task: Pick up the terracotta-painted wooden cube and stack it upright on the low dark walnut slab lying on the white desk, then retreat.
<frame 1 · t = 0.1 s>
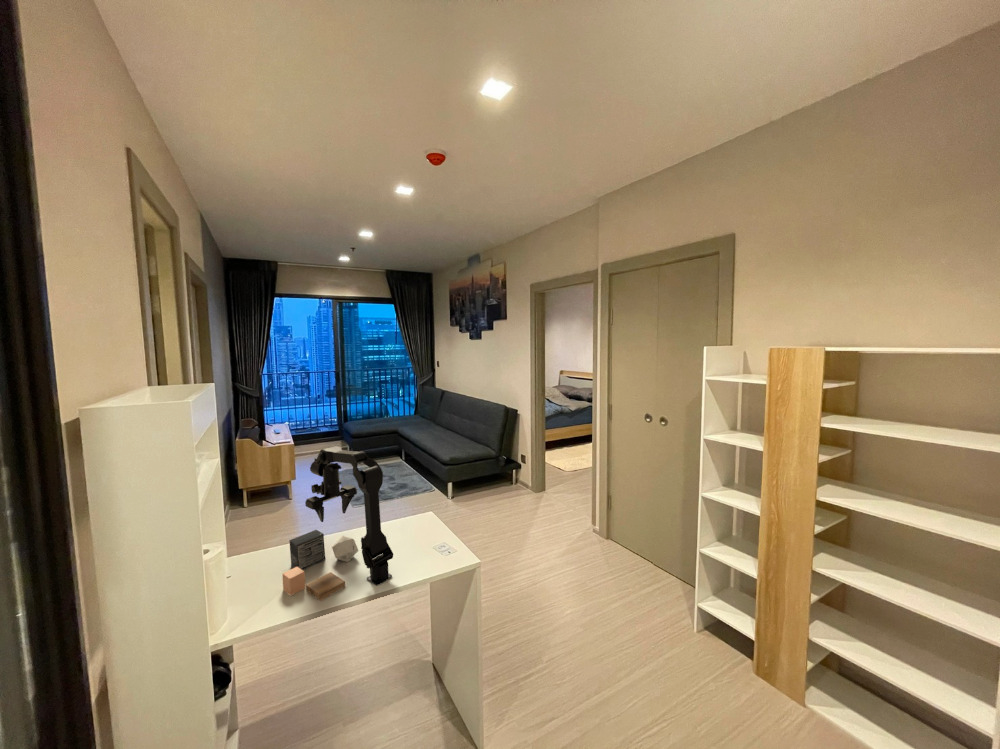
hand: (333, 517, 158), 15 cm above the table, fingers open, 9 cm apart
small box: (308, 563, 153), on the table
terracotta cube: (294, 589, 137), on the table
walnut slab: (325, 588, 137), on the table
die: (345, 559, 156), on the table
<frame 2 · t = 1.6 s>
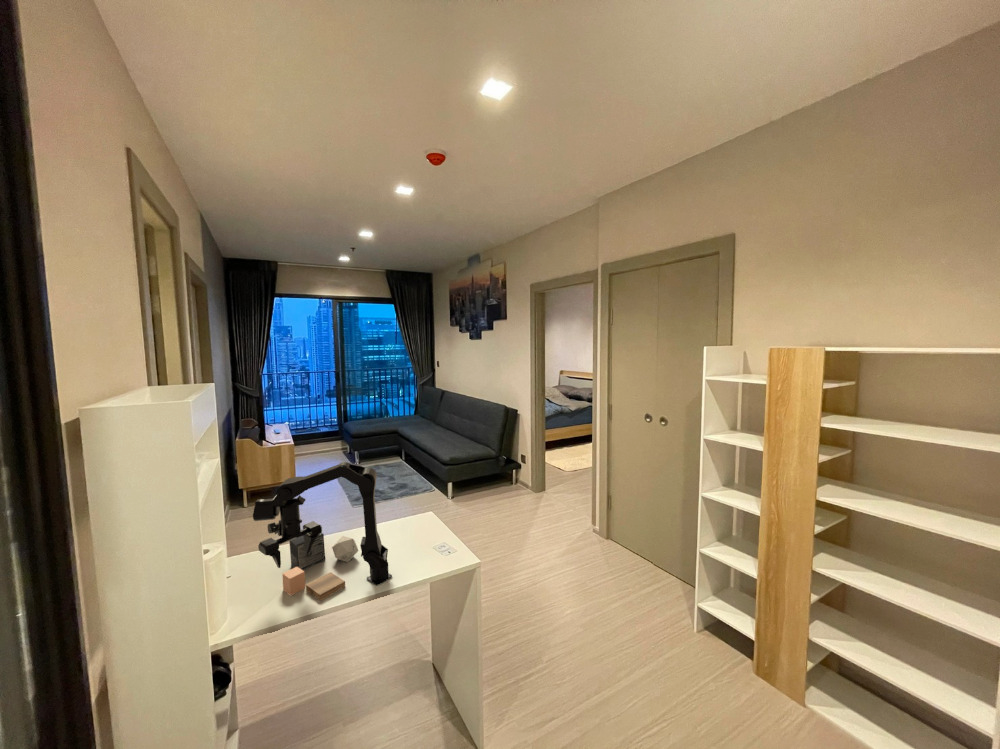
hand: (293, 561, 136), 10 cm above the table, fingers open, 9 cm apart
nothing on the table moved.
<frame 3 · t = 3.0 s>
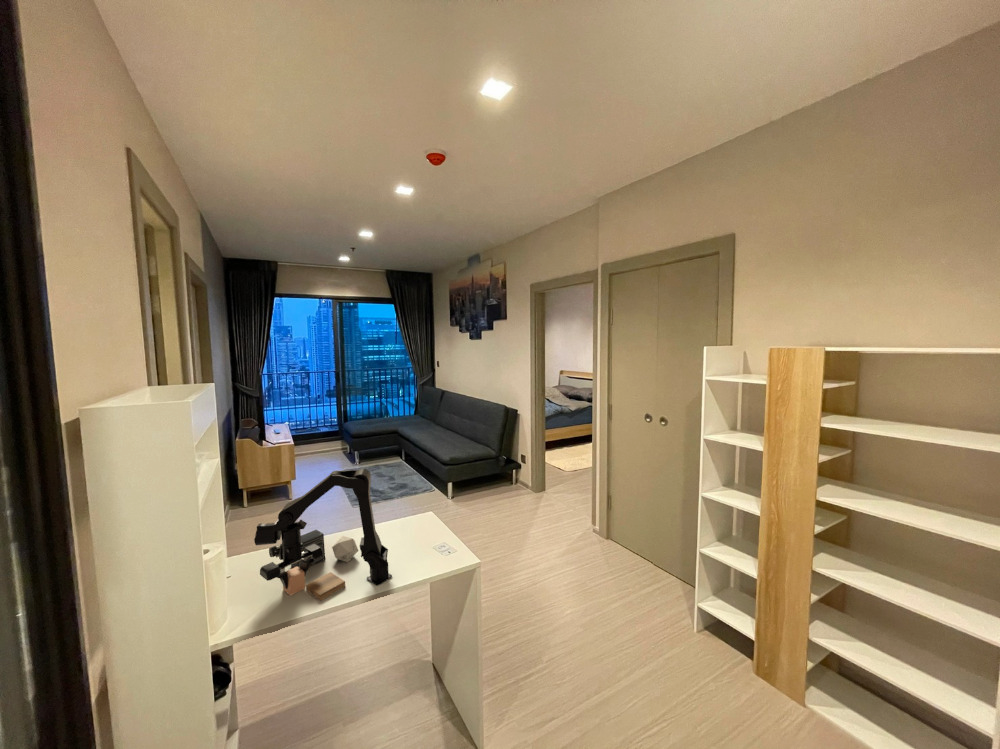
hand: (294, 584, 137), 2 cm above the table, fingers closed on terracotta cube, 5 cm apart
terracotta cube: (294, 588, 137), on the table, touching gripper
everything else where it was.
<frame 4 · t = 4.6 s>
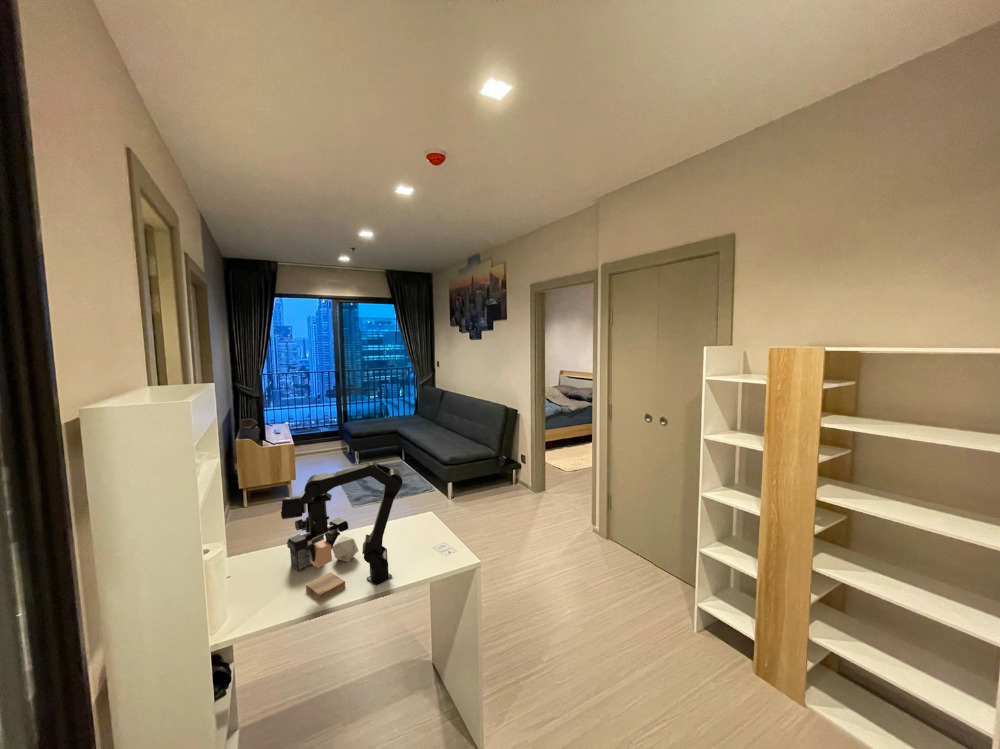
hand: (320, 557, 136), 11 cm above the table, fingers closed on terracotta cube, 5 cm apart
terracotta cube: (321, 561, 137), point 10 cm above the table, touching gripper
everything else where it was.
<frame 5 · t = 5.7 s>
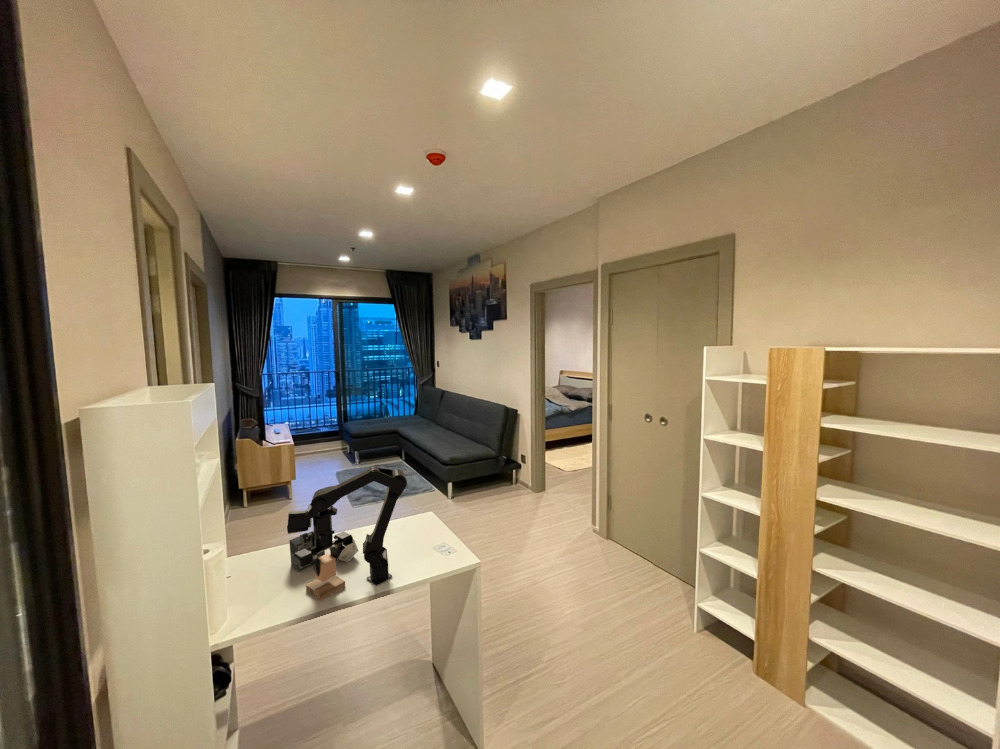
hand: (325, 571, 137), 6 cm above the table, fingers closed on terracotta cube, 5 cm apart
terracotta cube: (325, 575, 137), point 5 cm above the table, touching gripper
everything else where it was.
when the fingers open (5 cm above the table, at t = 6.4 s): terracotta cube drops 1 cm, resting on walnut slab.
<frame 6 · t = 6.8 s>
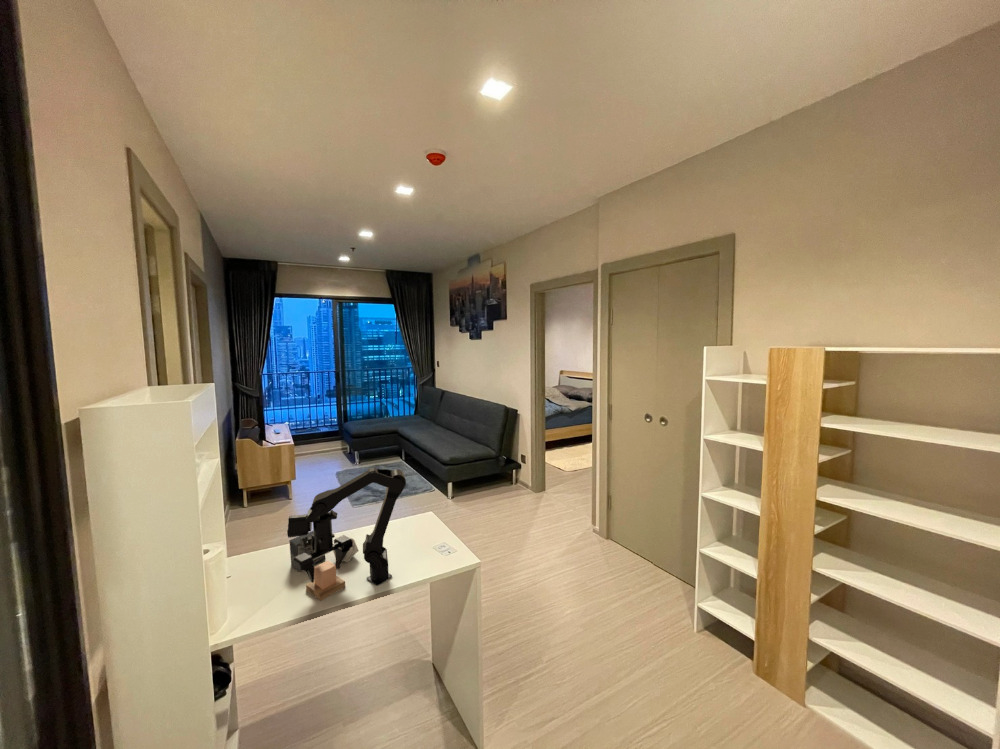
hand: (325, 575, 137), 5 cm above the table, fingers open, 9 cm apart
terracotta cube: (325, 582, 137), point 2 cm above the table, touching walnut slab
everything else where it was.
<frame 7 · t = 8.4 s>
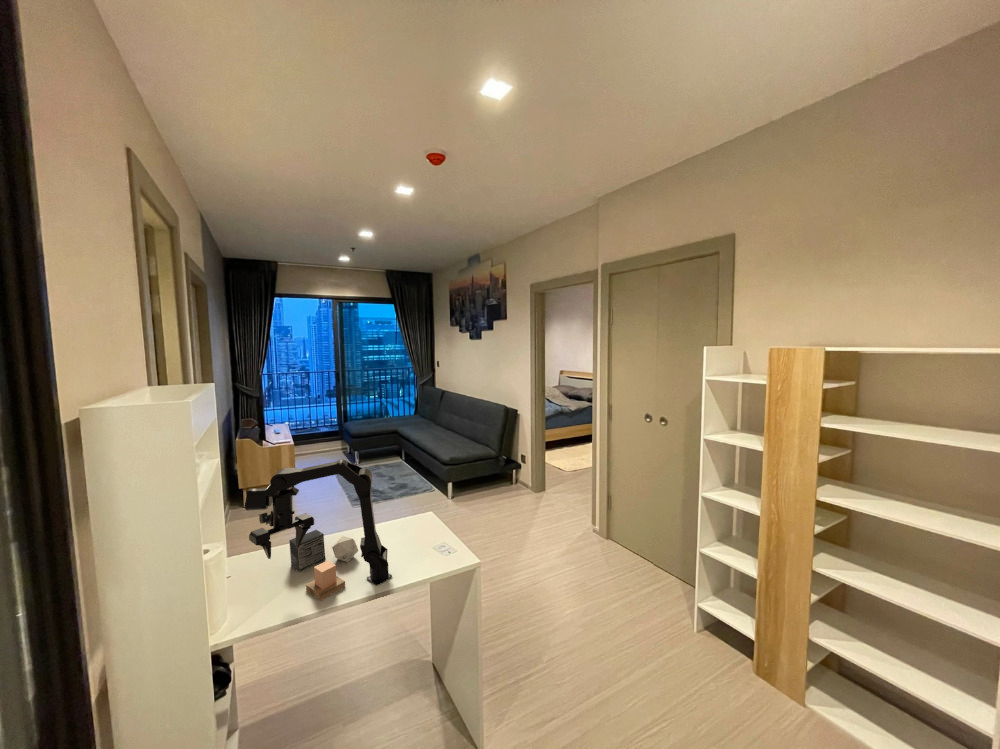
hand: (283, 552, 134), 14 cm above the table, fingers open, 9 cm apart
nothing on the table moved.
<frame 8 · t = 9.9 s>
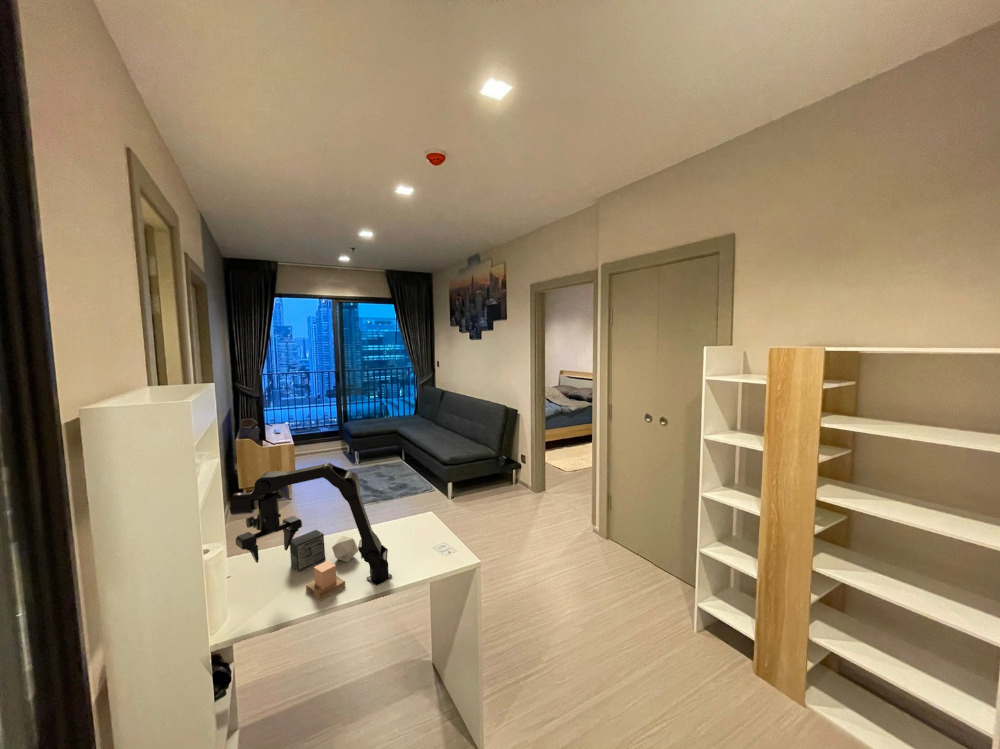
hand: (271, 555, 134), 13 cm above the table, fingers open, 9 cm apart
nothing on the table moved.
at the end: terracotta cube 0.1 cm off-centre on the walnut slab, point 2.0 cm above the walnut slab's base; terracotta cube tilted 0°; the gripper is holding nothing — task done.
